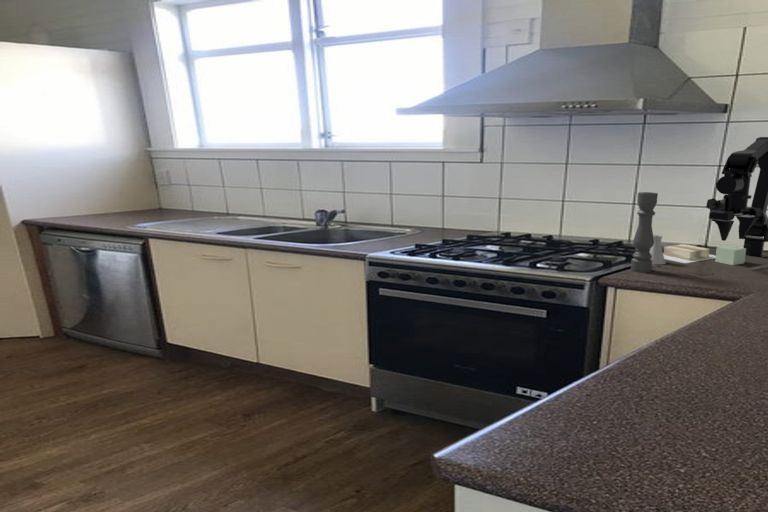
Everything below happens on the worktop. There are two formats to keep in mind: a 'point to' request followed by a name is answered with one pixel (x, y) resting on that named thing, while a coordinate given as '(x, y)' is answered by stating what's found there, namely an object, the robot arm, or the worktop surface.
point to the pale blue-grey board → (688, 260)
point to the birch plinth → (686, 252)
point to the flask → (657, 252)
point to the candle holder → (644, 233)
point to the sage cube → (730, 255)
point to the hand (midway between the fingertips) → (732, 239)
